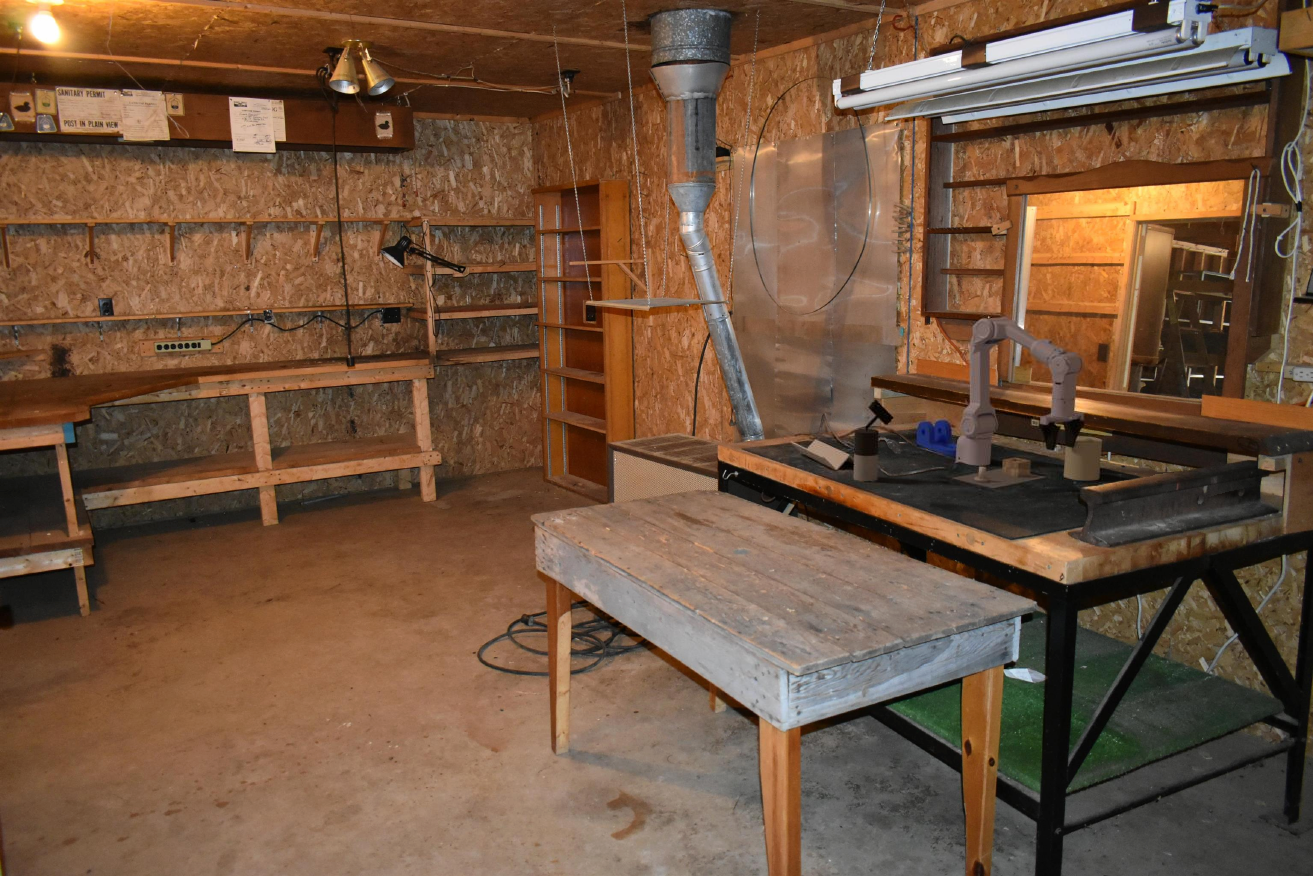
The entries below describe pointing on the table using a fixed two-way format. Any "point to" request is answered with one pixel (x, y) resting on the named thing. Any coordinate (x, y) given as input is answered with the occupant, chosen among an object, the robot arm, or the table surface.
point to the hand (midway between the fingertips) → (1060, 448)
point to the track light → (869, 445)
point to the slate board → (994, 478)
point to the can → (1083, 459)
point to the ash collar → (1016, 467)
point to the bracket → (936, 437)
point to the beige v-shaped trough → (825, 454)
